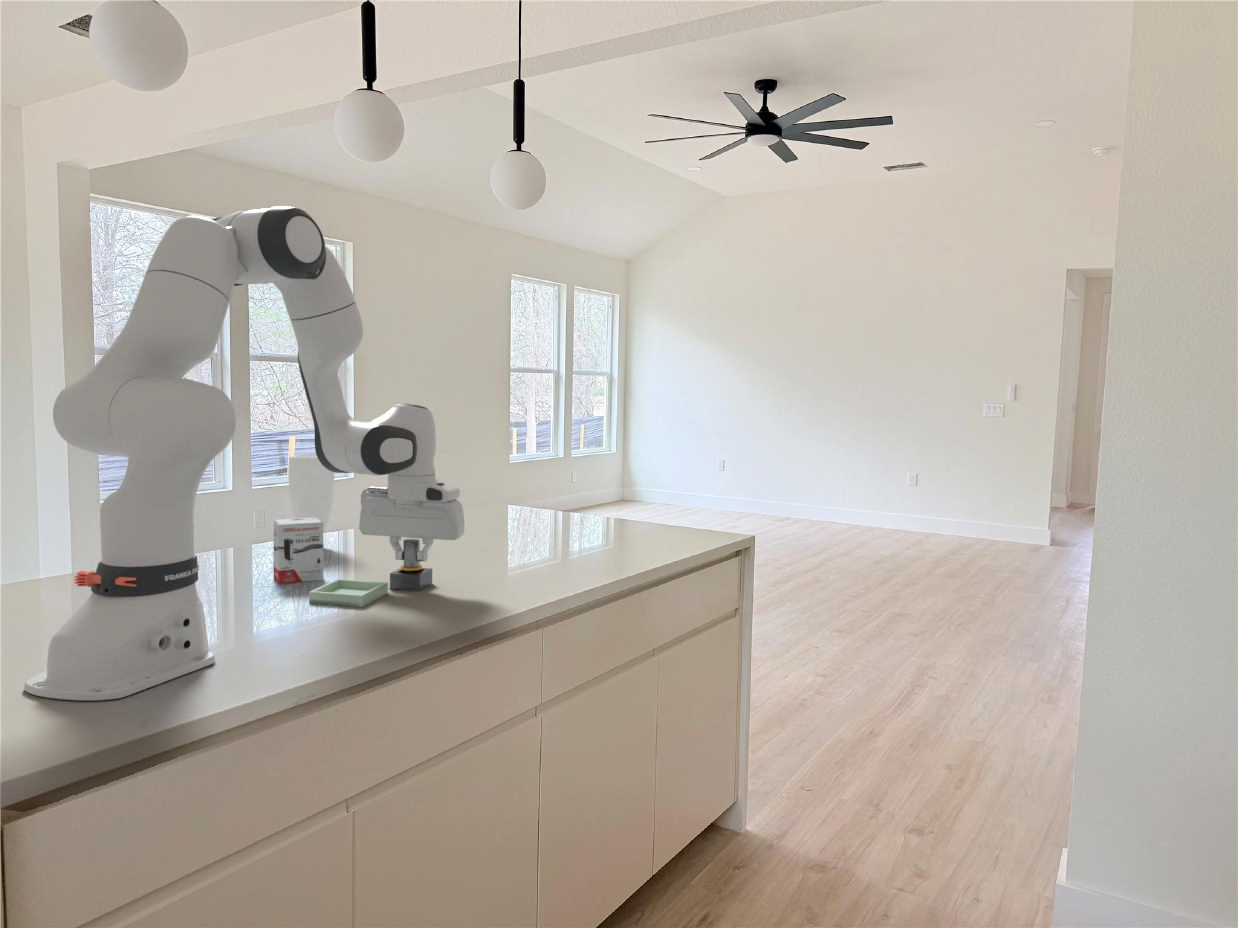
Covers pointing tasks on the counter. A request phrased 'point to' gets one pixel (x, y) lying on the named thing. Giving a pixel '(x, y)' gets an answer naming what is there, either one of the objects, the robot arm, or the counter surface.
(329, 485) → the cup
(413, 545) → the pin
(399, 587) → the socket block
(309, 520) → the ink box
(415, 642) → the counter surface
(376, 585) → the tray
